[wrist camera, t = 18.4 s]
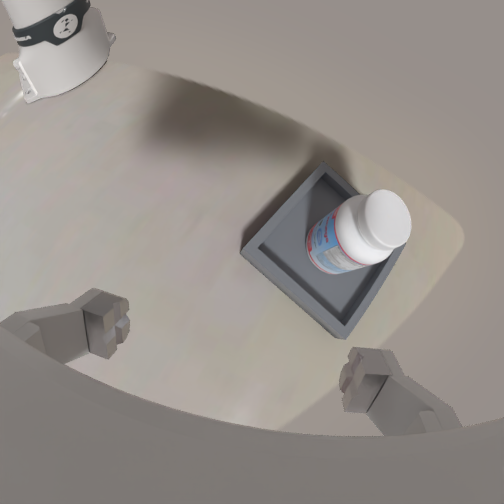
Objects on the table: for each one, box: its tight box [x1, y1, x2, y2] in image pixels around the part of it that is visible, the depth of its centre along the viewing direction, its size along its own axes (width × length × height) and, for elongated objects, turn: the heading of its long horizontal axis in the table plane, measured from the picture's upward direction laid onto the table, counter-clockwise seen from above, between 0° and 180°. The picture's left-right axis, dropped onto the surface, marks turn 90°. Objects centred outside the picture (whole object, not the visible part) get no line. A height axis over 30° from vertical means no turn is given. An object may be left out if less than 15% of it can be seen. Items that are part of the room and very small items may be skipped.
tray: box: [240, 161, 406, 340], centre depth 30 cm, size 14×14×2 cm
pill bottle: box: [306, 189, 411, 274], centre depth 25 cm, size 6×6×11 cm
